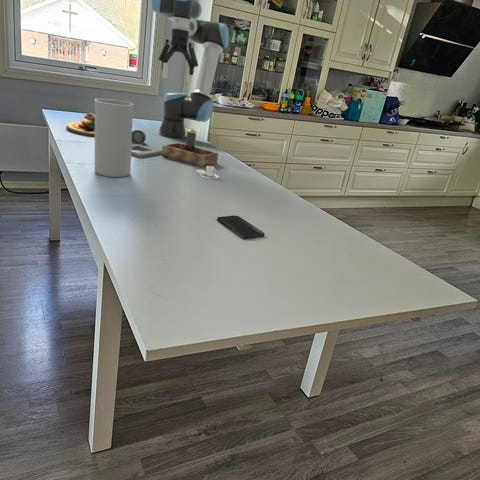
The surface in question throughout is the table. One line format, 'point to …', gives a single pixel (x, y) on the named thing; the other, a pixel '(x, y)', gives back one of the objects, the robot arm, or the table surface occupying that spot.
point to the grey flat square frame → (147, 151)
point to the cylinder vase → (113, 137)
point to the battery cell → (190, 140)
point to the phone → (240, 227)
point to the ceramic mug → (138, 136)
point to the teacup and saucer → (208, 172)
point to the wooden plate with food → (84, 126)
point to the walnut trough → (190, 155)
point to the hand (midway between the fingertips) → (176, 80)
